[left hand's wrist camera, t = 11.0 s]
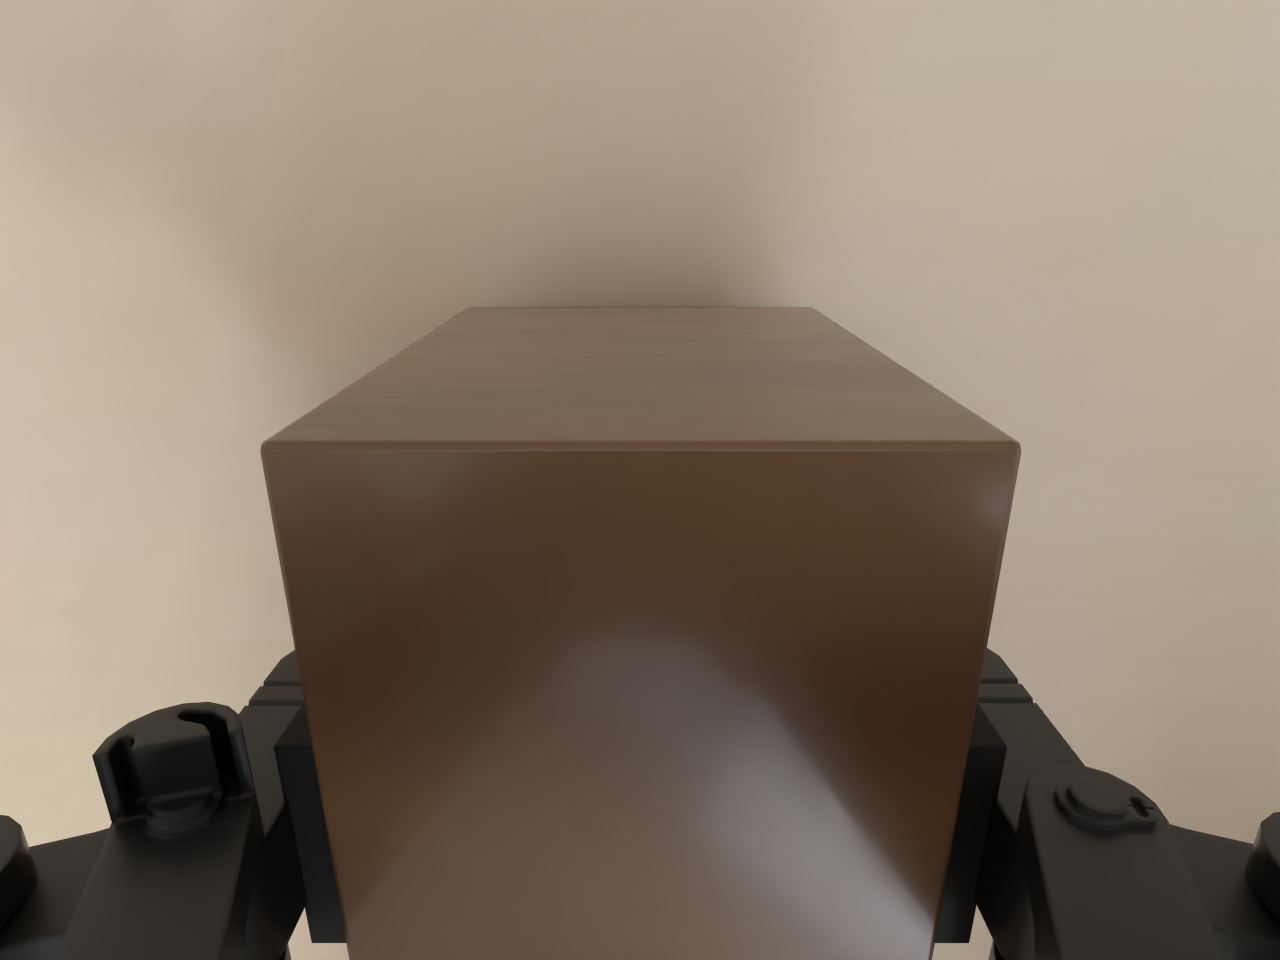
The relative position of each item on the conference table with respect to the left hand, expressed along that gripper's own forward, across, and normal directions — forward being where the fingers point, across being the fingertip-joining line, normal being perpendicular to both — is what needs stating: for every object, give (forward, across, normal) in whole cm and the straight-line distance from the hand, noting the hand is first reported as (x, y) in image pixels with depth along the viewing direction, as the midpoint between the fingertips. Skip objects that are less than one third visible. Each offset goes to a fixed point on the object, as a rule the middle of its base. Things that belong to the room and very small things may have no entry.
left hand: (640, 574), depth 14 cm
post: (+1, 0, -34) cm, 34 cm away
